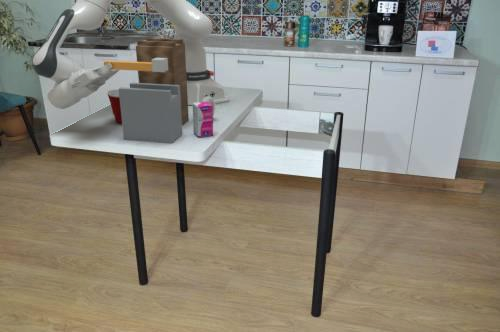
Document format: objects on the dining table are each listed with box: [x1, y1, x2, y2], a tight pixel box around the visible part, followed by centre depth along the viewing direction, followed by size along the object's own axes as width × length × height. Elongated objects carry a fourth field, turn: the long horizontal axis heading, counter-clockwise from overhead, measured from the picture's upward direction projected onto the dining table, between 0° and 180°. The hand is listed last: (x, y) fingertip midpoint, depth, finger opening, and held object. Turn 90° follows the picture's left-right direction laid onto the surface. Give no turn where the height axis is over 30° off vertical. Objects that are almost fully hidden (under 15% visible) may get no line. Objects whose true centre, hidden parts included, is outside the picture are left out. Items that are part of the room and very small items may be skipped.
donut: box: [201, 96, 216, 116], centre depth 185 cm, size 10×4×10 cm, turn 161°
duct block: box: [118, 82, 184, 144], centre depth 166 cm, size 18×10×18 cm, turn 76°
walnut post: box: [135, 37, 190, 127], centre depth 178 cm, size 14×12×32 cm
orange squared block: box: [103, 58, 168, 72], centre depth 161 cm, size 22×4×4 cm, turn 76°
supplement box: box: [192, 102, 214, 139], centre depth 170 cm, size 6×6×12 cm
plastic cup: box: [106, 88, 122, 125], centre depth 185 cm, size 11×11×12 cm
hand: (114, 63), depth 163 cm, fingers closed on orange squared block, 2 cm apart
